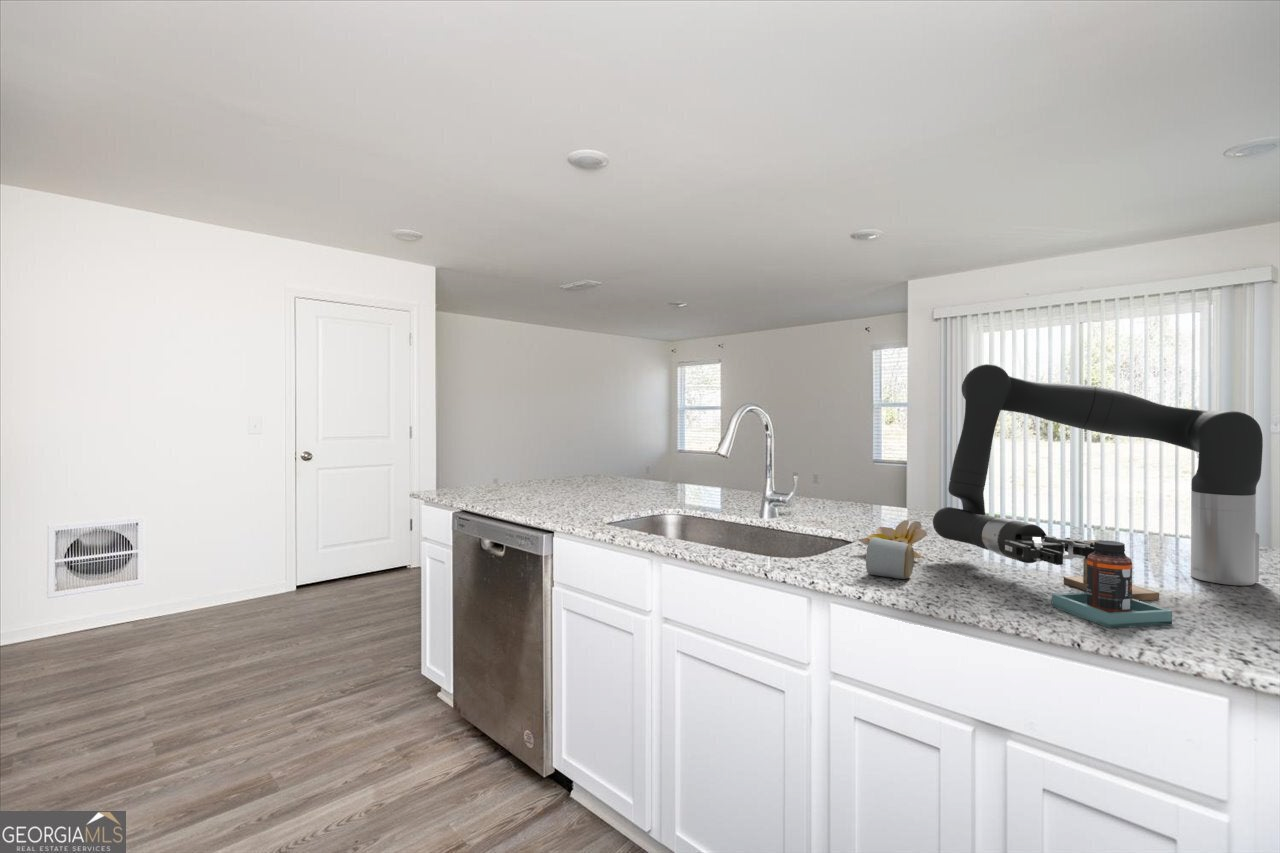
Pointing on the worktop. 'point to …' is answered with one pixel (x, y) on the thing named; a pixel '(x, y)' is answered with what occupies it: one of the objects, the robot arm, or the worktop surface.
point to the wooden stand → (1137, 591)
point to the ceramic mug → (889, 558)
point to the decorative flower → (900, 534)
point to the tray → (1137, 617)
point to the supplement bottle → (1109, 577)
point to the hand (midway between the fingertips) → (1083, 558)
